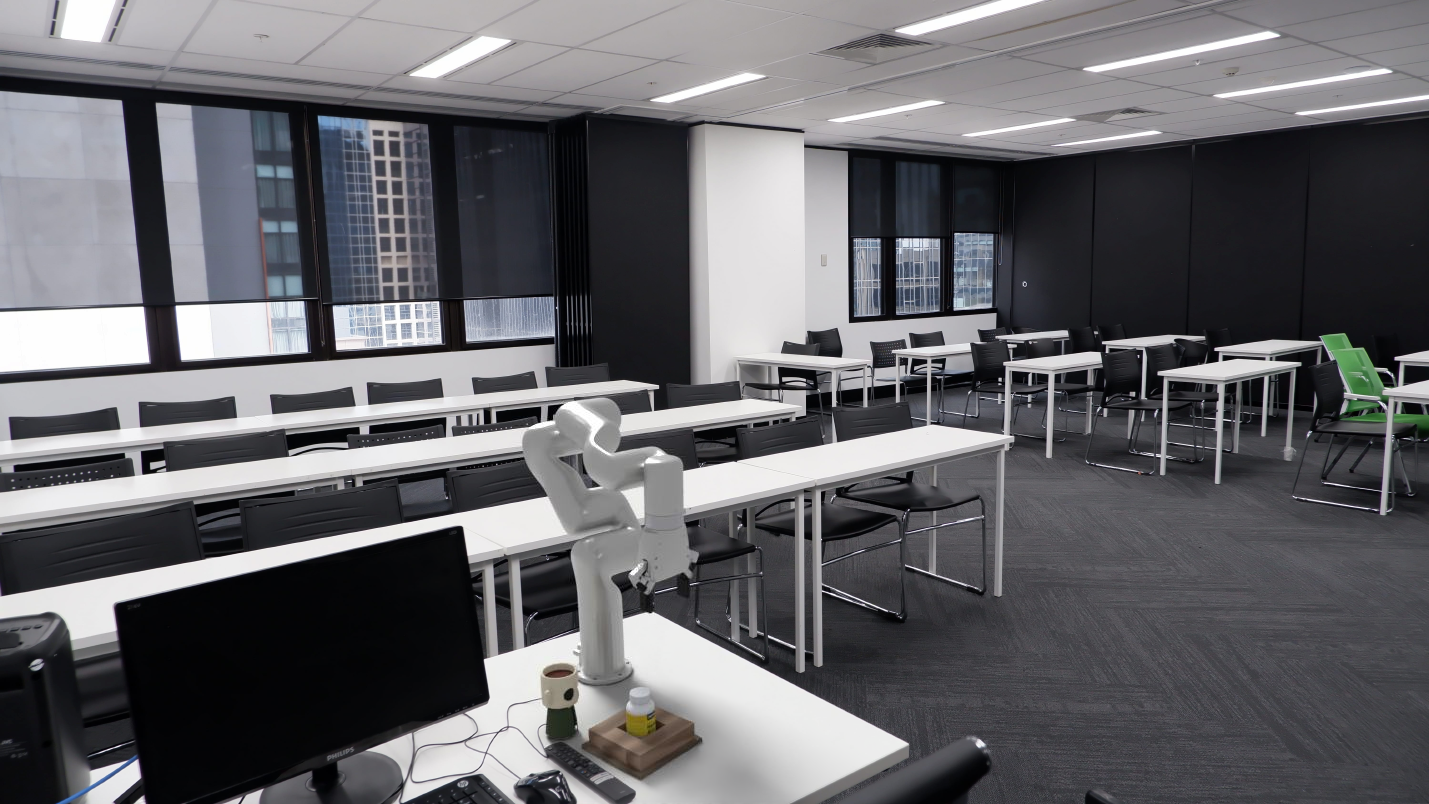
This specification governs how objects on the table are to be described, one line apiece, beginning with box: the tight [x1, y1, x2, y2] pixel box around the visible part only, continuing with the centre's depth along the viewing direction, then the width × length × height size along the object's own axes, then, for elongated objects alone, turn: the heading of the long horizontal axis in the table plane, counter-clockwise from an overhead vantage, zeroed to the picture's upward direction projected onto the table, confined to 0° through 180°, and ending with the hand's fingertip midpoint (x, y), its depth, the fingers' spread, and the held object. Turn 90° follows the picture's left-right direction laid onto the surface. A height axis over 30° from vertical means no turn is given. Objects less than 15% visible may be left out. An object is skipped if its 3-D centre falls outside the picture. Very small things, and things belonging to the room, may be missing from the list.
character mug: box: [539, 662, 580, 740], centre depth 165 cm, size 11×7×13 cm, turn 163°
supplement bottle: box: [625, 686, 656, 739], centre depth 160 cm, size 5×5×10 cm
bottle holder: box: [581, 705, 703, 781], centre depth 161 cm, size 16×16×4 cm
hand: (665, 603), depth 168 cm, fingers open, 9 cm apart
